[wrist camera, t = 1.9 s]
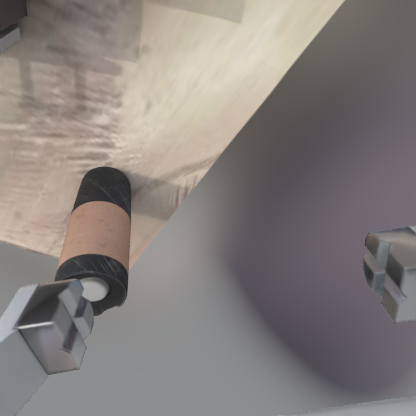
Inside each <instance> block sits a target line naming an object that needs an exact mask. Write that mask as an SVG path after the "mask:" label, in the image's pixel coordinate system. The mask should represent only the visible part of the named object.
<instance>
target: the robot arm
mask: <svg viewBox="0 0 416 416" xmlns="http://www.w3.org/2000/svg"><path fill="white" fill-rule="evenodd" d="M365 246H366V248H367V249H368V250H369V252H368V253H367V254H366V256H365V257H364V258H363V271H364V276H365V279H366V281H367V283H368V285H369V287H370V288H371V290H372V291H373V292H376V293H377V294H379V295H381V296H382V298H381V304H382V306H383V307H384V308H385V309H386V311H387V313H388V314H389V316H390V317H391V319H392V320H393V321H394V323H397V322H405V321H414V320H416V225H413V226H407V227H405V228H398V229H392V230H386V231H379V232H373V233H368V235H367V237H366V240H365ZM83 290H84V288H83V286H82V284H81V282H80V280H77V279H69V280H62V281H54V282H47V283H42V284H33V285H26V286H23V287H22V288H20V289H19V290H18V292H17V293H16V295H15V296H14V298H13V300H12V301H11V303H10V304H9V306H8V307H7V309H6V311H5V312H4V314H3V315H2V317H1V318H0V416H16V415H17V414H18V412H19V411H20V410H21V409H22V408H23V406H24V405H25V404H26V403H27V402H28V400H29V399H30V398H31V397H32V395H33V394H34V393H35V392H36V391H37V390H38V388H39V387H40V386H41V385H42V384H43V382H44V381H45V380H46V379H47V377H48V375H50V374H55V373H61V372H66V371H72V370H78V369H80V366H81V363H82V360H83V357H84V354H85V351H86V345H85V343H84V340H85V339H86V338H87V337H88V336H89V335H90V334H91V331H92V328H93V323H94V322H93V321H94V313H93V308H92V305H91V303H90V301H89V300H88V299H87V298H85V297H83V296H82V293H83ZM275 416H416V396H410V397H403V398H395V399H388V400H381V401H374V402H367V403H360V404H353V405H347V406H340V407H332V408H325V409H319V410H311V411H305V412H297V413H290V414H283V415H275Z"/></svg>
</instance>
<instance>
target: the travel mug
mask: <svg viewBox="0 0 416 416" xmlns="http://www.w3.org/2000/svg"><path fill="white" fill-rule="evenodd" d="M130 232H131V189H130V183H129V181H128V179H127V177H126V176H125V175H124V174H123V173H122V172H120V171H119V170H116V169H114V168H110V167H98V168H95V169H92V170H90V171H89V172H88V173H87V174H86V175H85V176H84V178H83V180H82V182H81V185H80V188H79V191H78V195H77V198H76V201H75V204H74V207H73V210H72V213H71V217H70V220H69V224H68V228H67V232H66V236H65V240H64V245H63V249H62V253H61V257H60V261H59V265H58V269H57V273H56V277H55V281H62V280H69V279H77V280H80V282H81V284H82V286H83V288H84V290H83V293H82V296H83V297H85V298H87V299H88V300H89V301H90V303H91V305H92V308H93V313H94V316H97V315H100V314H102V313H103V312H104V311H105V310H107V309H109V308H111V307H114V306H118V307H120V306H122V304H123V303H124V301H125V300H126V297H127V289H128V270H129V251H130Z"/></svg>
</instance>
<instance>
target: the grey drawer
mask: <svg viewBox="0 0 416 416" xmlns="http://www.w3.org/2000/svg"><path fill="white" fill-rule="evenodd" d="M20 39H21V35H20V27H19V26H14V25H10V26H8V27H6V28H5V29H3V30H1V31H0V54H1V53H2V52H4V51H5V50H6V49H8V48H9V47H10V46H12V45H13V44H14V43H16V42H17V41H18V40H20Z"/></svg>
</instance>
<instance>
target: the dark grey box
mask: <svg viewBox="0 0 416 416" xmlns="http://www.w3.org/2000/svg"><path fill="white" fill-rule="evenodd" d="M25 16H27V11H26V1H25V0H0V31H1V30H3V29H5V28H6V27H8V26H10V25H11V24H13V23H15V22H17V21H18V20H20V19H22V18H23V17H25Z"/></svg>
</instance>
